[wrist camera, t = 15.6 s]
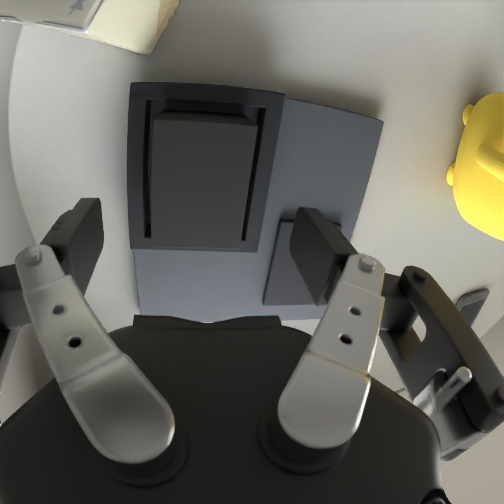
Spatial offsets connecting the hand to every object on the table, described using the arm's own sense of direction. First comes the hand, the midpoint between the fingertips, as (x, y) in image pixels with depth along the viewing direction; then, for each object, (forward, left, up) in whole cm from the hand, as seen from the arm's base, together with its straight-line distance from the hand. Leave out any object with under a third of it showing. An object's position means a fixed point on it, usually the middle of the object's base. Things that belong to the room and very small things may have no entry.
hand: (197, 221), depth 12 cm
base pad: (+4, -5, -9) cm, 11 cm away
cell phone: (+40, -20, -9) cm, 46 cm away
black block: (0, 0, -8) cm, 8 cm away
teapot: (+27, +5, -9) cm, 29 cm away
